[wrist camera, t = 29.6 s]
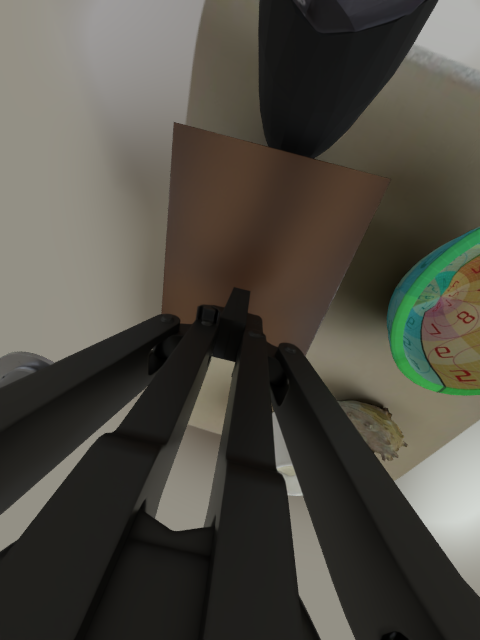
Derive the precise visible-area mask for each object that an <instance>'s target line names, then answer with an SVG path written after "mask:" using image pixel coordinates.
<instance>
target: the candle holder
mask: <svg viewBox="0 0 480 640" xmlns="http://www.w3.org/2000/svg"><path fill="white" fill-rule="evenodd" d="M272 419H273V433H274V446H275V460H276V468H277V471H278V472H279V473H281V474H282V475H283V477H284V479H285V482H286V488H287V494H288V495H292V496H303V494H302V491H301V488H300V485H299V482H298V479H297V476H296V473H295V470H294V468H293V465H292V462H291V459H290V456H289V453H288V450H287V447H286V444H285V441H284V438H283V435H282V432H281V430H280V427H279V424H278V421H277V418H276V415H275V412H273V413H272Z"/></svg>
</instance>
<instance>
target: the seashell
mask: <svg viewBox="0 0 480 640" xmlns="http://www.w3.org/2000/svg"><path fill="white" fill-rule="evenodd" d="M337 402H338V403H339V405H340V406H341V408H342V409H343V410H344V412H345V413H346V415H347V416H348V417H349V419H350V420H351V422H352V423H353V425H354V426H355V427H356V429H357V430H358V432H359V433H360V434H361V436H362V437H363V439H364V440H365V441H366V443H367V444H368V446H369V447H370V449H371V450H372V451H373V453H374V452H377V453H379V454H381V456H382V459H383V460H384V461H385V459H387V460H388V461H391V460H393V458H392V457H397V458H398V455H397V454H396V453H395V451H398V450H399V448H400V446H405V447H407V444H406V443H405V442H404V441H403V439H402V438H404V436H403V435H402V434H401V433H402V432H401V431H400V429H399V428H398V426H397V424H395V423H394V422H393V421H392V420H391V419H390V418H391V416H392V414H391V413H389V411H388V408H383V409H380V407H377V406H374V405H370V404H367V403H361V402H358V401H349V400H347V401H341V402H340V401H337Z"/></svg>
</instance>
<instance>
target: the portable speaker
mask: <svg viewBox="0 0 480 640" xmlns="http://www.w3.org/2000/svg"><path fill="white" fill-rule="evenodd" d="M437 2H438V0H260V3H259V29H258V31H259V99H260V112H261V118H262V123H263V129H264V135H265V138H266V141H267V144H268V146H269V147H271V148H274V149H278V150H282V151H286V152H290V153H294V154H297V155H301V156H305V157H309V158H313V159H314V158H315V157H317V156H318V155H320V154H321V153H323V152H324V151H326V150H327V149H328V148H330V147H331V146H332V145H333V144H334V143H335V142H336V141H337V140H338V139H339V138H340V137H341V136H342V135H343V134H344V133H345V132H346V131H347V130H348V129H349V128H350V127H351V126H352V125H353V123H354V122H355V121H356V120H357V118H358V117H359V116H360V115H361V114H362V112H363V111H364V110H365V109H366V108H367V106H368V105H369V104H370V103H371V102H372V100H373V99H374V98H375V97H376V95H377V94H378V93H379V92H380V91H381V89H382V88H383V87H384V86H385V85H386V83H387V82H388V81H389V80H390V79H391V77H392V76H393V75H394V73H395V72H396V70H397V69H398V67H399V66H400V64H401V63H402V61H403V59H404V58H405V56H406V55H407V53H408V52H409V50H410V49H411V47H412V45H413V44H414V42H415V40H416V38H417V37H418V35H419V33H420V32H421V30H422V28H423V26H424V25H425V23H426V21H427V19H428V18H429V16H430V14H431V12H432V11H433V9H434V7H435V6H436V4H437Z"/></svg>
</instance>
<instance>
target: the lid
mask: <svg viewBox="0 0 480 640" xmlns="http://www.w3.org/2000/svg"><path fill="white" fill-rule="evenodd" d="M390 181H391V179H389V178H385V177H381V176H377V175H373V174H370V173H366V172H362V171H358V170H354V169H351V168H347V167H343V166H339V165H335V164H332V163H328V162H324V161H320V160H316V159H313V158H309V157H305V156H301V155H297V154H294V153H290V152H286V151H282V150H278V149H274V148H271V147H267V146H263V145H259V144H255V143H252V142H248V141H244V140H240V139H236V138H233V137H229V136H225V135H221V134H217V133H214V132H210V131H206V130H202V129H198V128H195V127H191V126H187V125H183V124H179V123H175V122H174V128H173V143H172V159H171V174H170V190H169V206H168V221H167V237H166V253H165V267H164V284H163V299H162V314H172V315H176V316H177V317H179V318H180V323H182V324H193V323H194V321H195V320H196V314H197V307H198V306H199V305H203V304H204V305H217V306H221V307H225V305H226V303H227V301H228V299H229V297H230V294H231V292H232V290H233V288H234V287H236V288H240V289H244V290H248V291H251V292H250V299H249V307H248V313H250V314H254V315H258V316H260V317H261V318H262V321H263V333H264V334H265V335H266V339H267V342H269V343H270V344H272V345H274V346H277V347H278V345H279V344H280V343H291V344H293V345H295V346H296V347H298V348H299V349H300V350H301V351H302V353H303V354H304V355H305V356H306V354H307V352H308V349H309V347H310V345H311V343H312V341H313V339H314V337H315V335H316V333H317V331H318V329H319V327H320V325H321V323H322V321H323V319H324V317H325V315H326V312H327V310H328V308H329V306H330V304H331V302H332V300H333V298H334V296H335V294H336V292H337V290H338V288H339V286H340V284H341V282H342V280H343V278H344V275H345V273H346V271H347V269H348V267H349V265H350V263H351V261H352V259H353V257H354V255H355V253H356V251H357V249H358V247H359V245H360V243H361V241H362V238H363V236H364V234H365V232H366V230H367V228H368V226H369V224H370V222H371V220H372V218H373V216H374V214H375V212H376V210H377V208H378V206H379V204H380V201H381V199H382V197H383V195H384V193H385V191H386V189H387V187H388V185H389V183H390Z"/></svg>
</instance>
